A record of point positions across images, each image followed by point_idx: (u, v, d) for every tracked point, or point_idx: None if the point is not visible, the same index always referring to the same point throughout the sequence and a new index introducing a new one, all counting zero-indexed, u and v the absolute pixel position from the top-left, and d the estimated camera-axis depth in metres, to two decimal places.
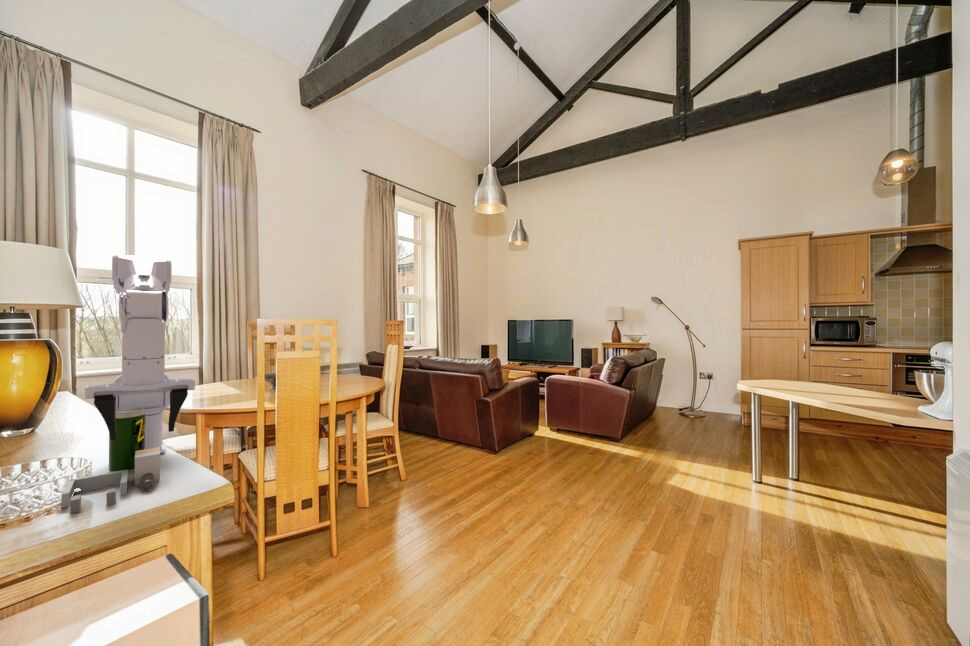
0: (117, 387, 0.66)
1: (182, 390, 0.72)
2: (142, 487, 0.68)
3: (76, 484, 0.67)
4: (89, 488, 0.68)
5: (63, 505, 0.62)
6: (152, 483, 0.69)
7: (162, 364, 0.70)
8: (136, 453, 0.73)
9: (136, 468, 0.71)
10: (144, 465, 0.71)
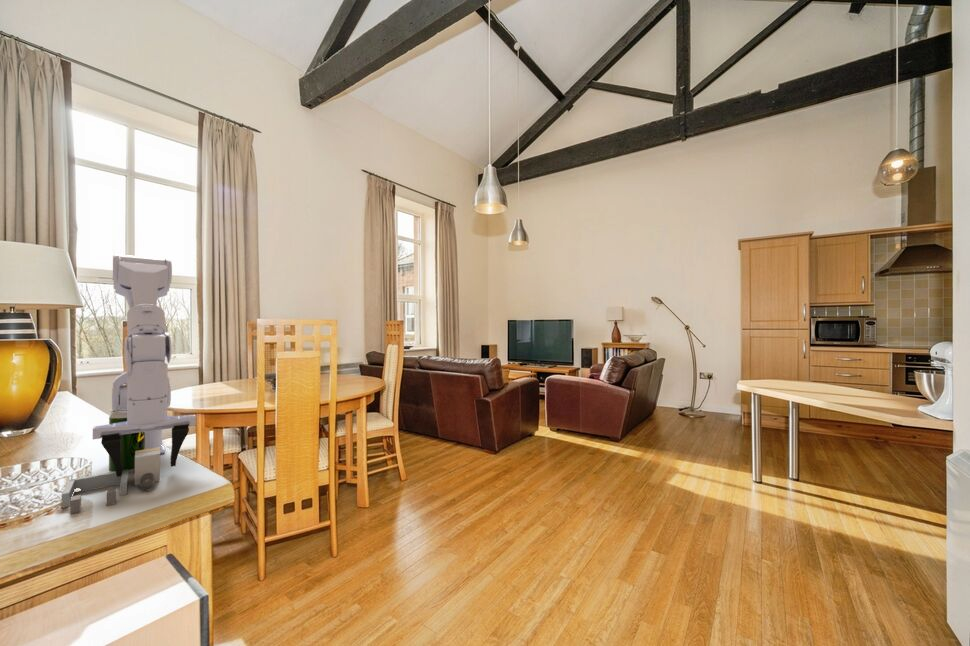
0: (123, 427, 0.70)
1: (184, 426, 0.76)
2: (142, 487, 0.68)
3: (76, 484, 0.67)
4: (89, 488, 0.68)
5: (63, 505, 0.62)
6: (152, 483, 0.69)
7: (165, 403, 0.74)
8: (136, 453, 0.73)
9: (136, 468, 0.71)
10: (144, 465, 0.71)
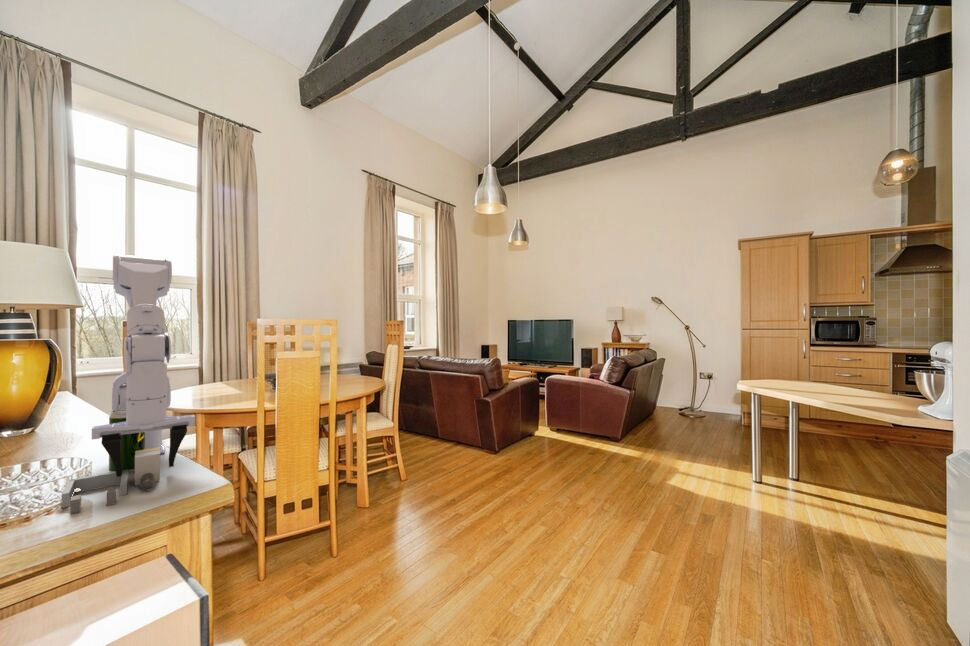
0: (122, 427, 0.70)
1: (183, 427, 0.76)
2: (142, 487, 0.68)
3: (76, 484, 0.67)
4: (89, 488, 0.68)
5: (63, 505, 0.62)
6: (152, 483, 0.69)
7: (164, 403, 0.74)
8: (136, 453, 0.73)
9: (136, 468, 0.71)
10: (144, 465, 0.71)
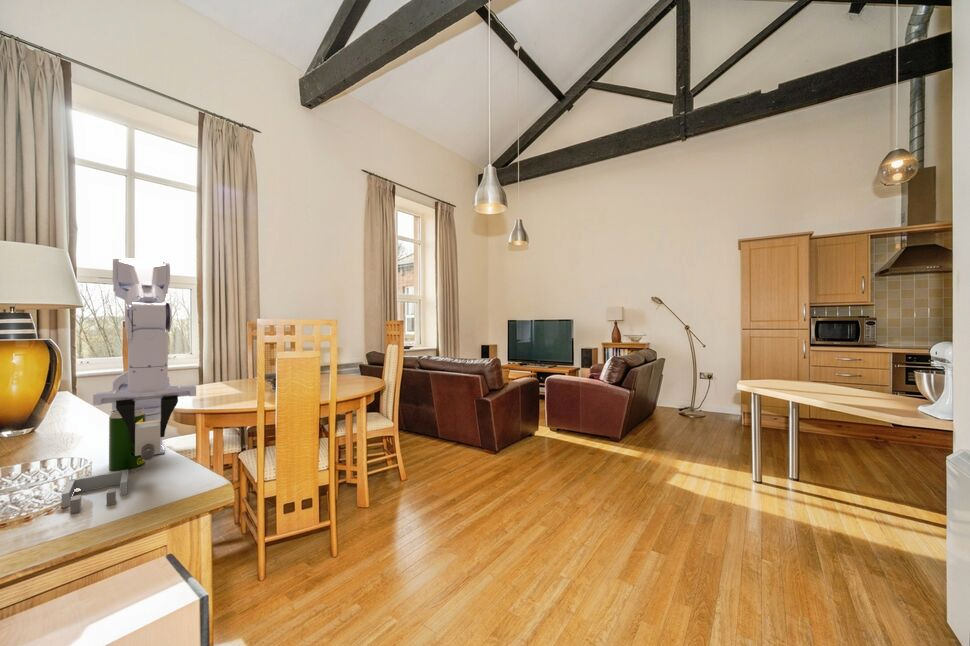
0: (123, 394, 0.70)
1: None
2: (142, 456, 0.68)
3: (76, 484, 0.67)
4: (89, 488, 0.68)
5: (63, 505, 0.62)
6: (152, 453, 0.69)
7: (165, 372, 0.74)
8: (136, 424, 0.73)
9: (136, 439, 0.71)
10: (145, 435, 0.71)
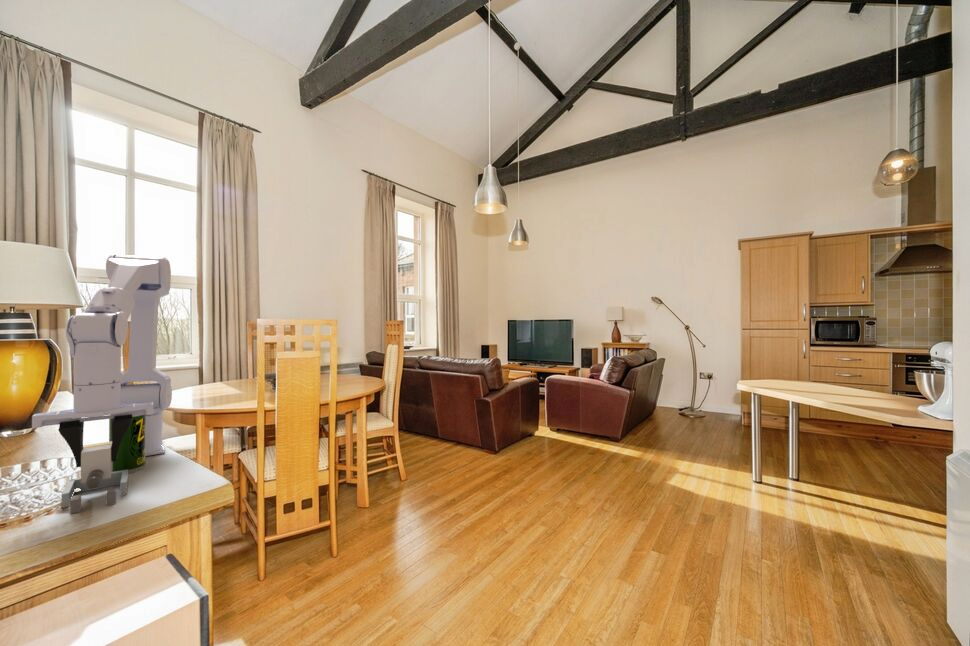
0: (67, 415, 0.63)
1: None
2: (87, 485, 0.61)
3: (76, 484, 0.67)
4: None
5: (63, 505, 0.62)
6: (99, 480, 0.62)
7: (117, 389, 0.67)
8: (84, 448, 0.66)
9: (82, 464, 0.64)
10: (92, 460, 0.64)
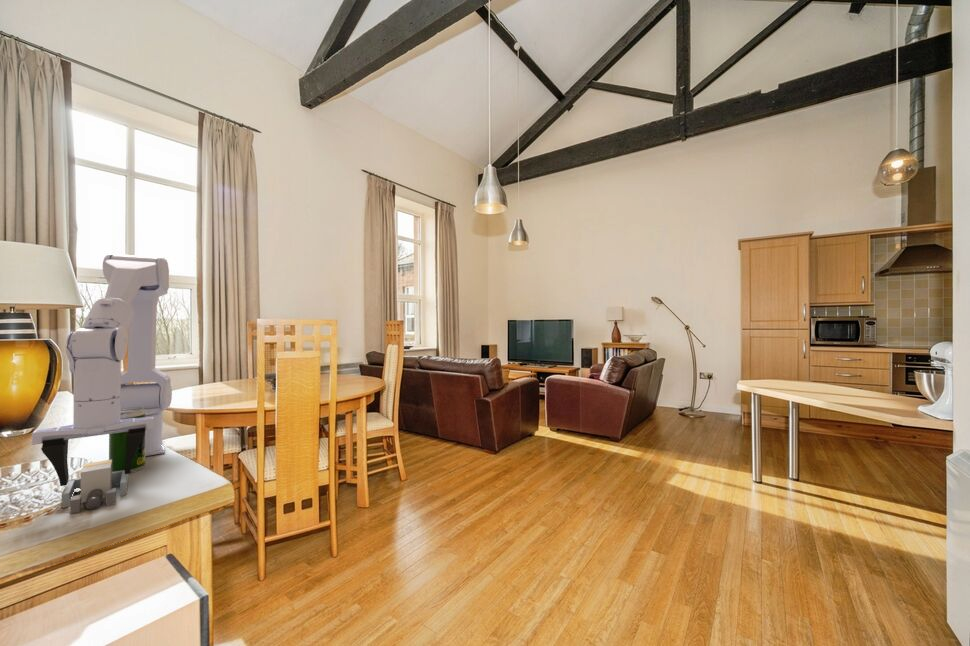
0: (67, 431, 0.63)
1: (139, 430, 0.69)
2: (87, 506, 0.61)
3: (76, 484, 0.67)
4: None
5: (63, 505, 0.62)
6: (99, 501, 0.62)
7: (117, 404, 0.67)
8: (84, 467, 0.66)
9: (82, 484, 0.64)
10: (92, 480, 0.64)
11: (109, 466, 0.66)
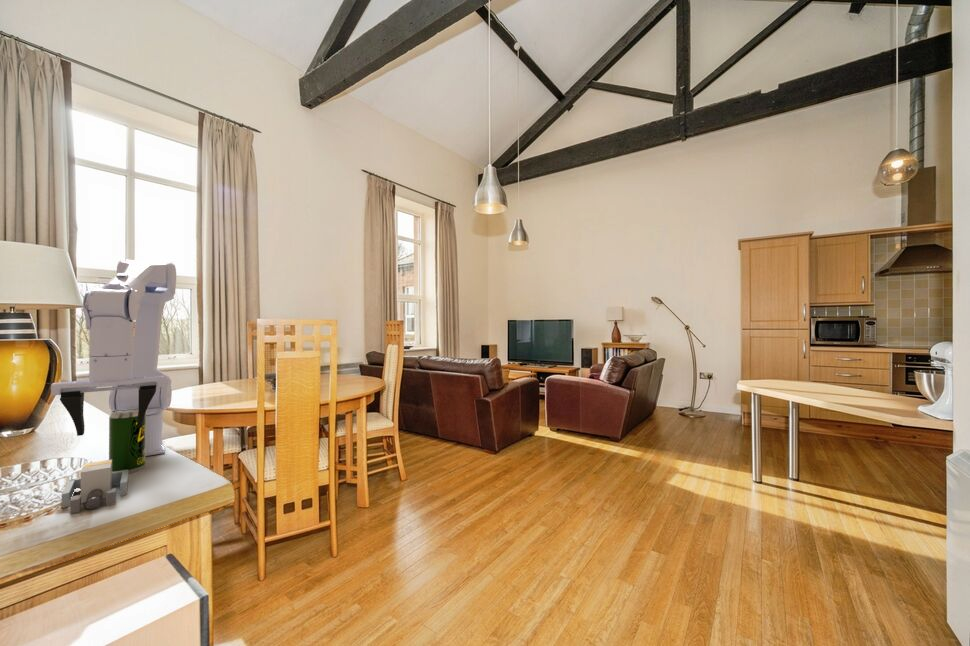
0: (84, 384, 0.67)
1: (150, 387, 0.73)
2: (87, 506, 0.61)
3: (76, 484, 0.67)
4: None
5: (63, 505, 0.62)
6: (99, 501, 0.62)
7: (130, 361, 0.71)
8: (84, 467, 0.66)
9: (82, 484, 0.64)
10: (92, 480, 0.64)
11: (109, 466, 0.66)
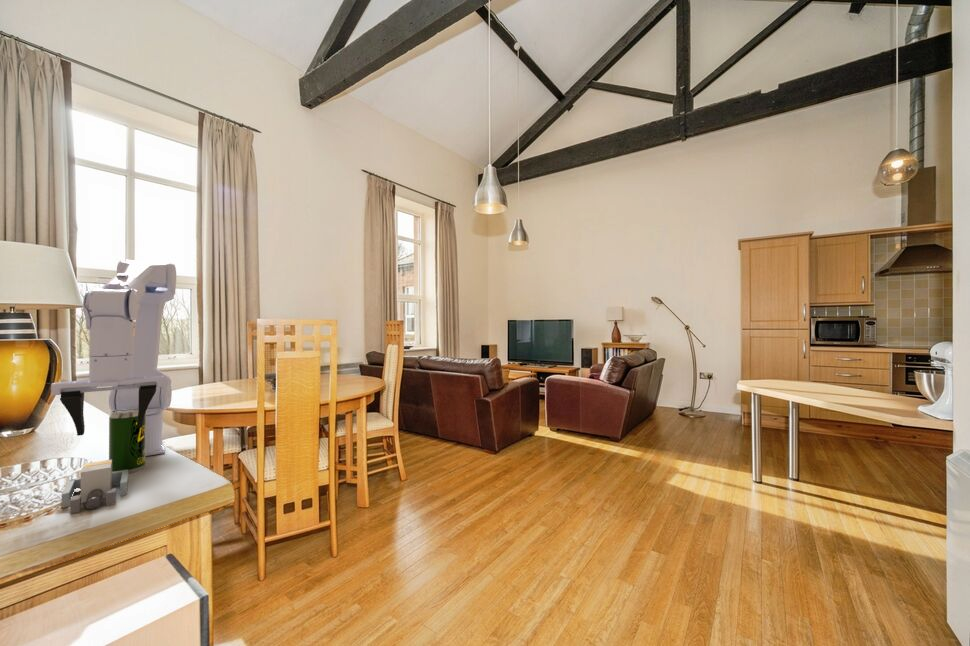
0: (84, 384, 0.67)
1: (151, 387, 0.73)
2: (87, 506, 0.61)
3: (76, 484, 0.67)
4: None
5: (63, 505, 0.62)
6: (99, 501, 0.62)
7: (130, 361, 0.71)
8: (84, 467, 0.66)
9: (82, 484, 0.64)
10: (92, 480, 0.64)
11: (109, 466, 0.66)
